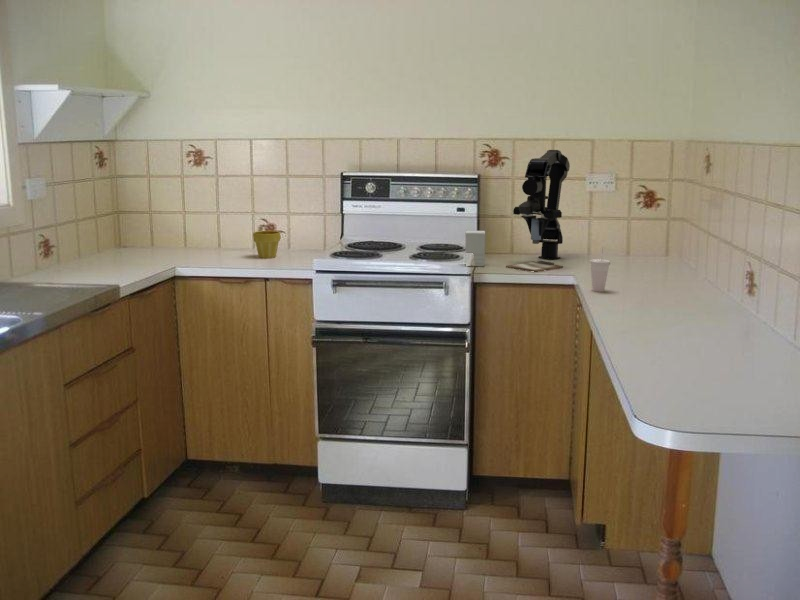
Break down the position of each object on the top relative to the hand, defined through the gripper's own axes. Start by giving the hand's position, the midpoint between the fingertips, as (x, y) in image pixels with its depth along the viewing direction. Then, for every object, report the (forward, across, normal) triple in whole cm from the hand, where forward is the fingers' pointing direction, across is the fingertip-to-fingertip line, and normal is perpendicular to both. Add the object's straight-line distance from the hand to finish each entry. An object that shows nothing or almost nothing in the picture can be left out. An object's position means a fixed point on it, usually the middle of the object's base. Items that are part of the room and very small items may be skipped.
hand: (536, 235), depth 311 cm
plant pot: (+11, -79, -67) cm, 104 cm away
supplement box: (+12, -15, -17) cm, 25 cm away
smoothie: (+11, +44, -23) cm, 51 cm away
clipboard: (+11, +3, -4) cm, 12 cm away
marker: (+3, 0, 0) cm, 3 cm away
